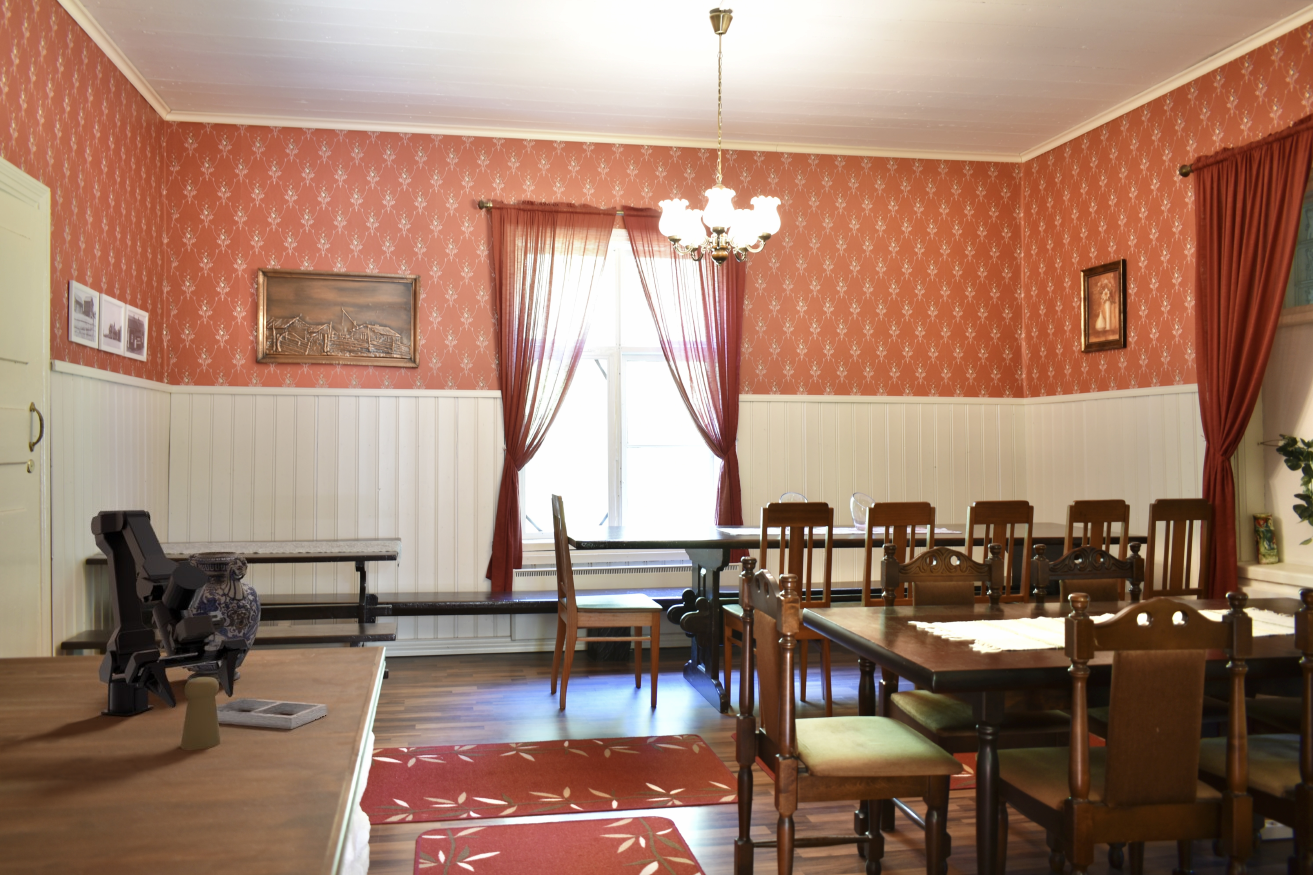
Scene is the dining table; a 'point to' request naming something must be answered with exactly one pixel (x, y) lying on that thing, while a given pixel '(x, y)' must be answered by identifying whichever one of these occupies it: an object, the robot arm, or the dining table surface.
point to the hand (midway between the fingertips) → (203, 700)
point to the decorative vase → (225, 604)
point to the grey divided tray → (269, 713)
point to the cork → (201, 714)
